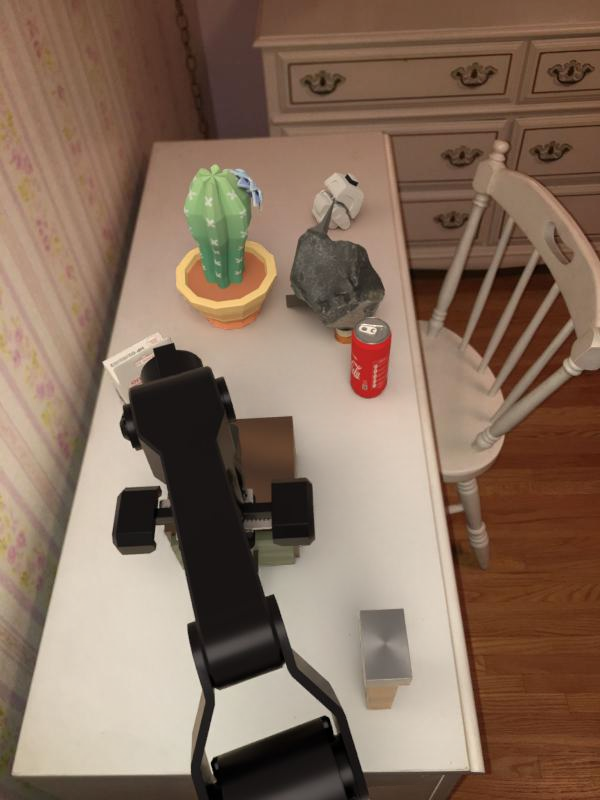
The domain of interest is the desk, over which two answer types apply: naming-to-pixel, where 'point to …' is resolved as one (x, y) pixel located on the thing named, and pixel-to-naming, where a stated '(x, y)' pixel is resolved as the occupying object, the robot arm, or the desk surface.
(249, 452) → the cabinet
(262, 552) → the drawer
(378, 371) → the beverage can
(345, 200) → the white faceted figurine
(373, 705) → the stand
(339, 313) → the narwhal figurine
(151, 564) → the desk surface
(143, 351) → the ink box
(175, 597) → the desk surface
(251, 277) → the potted cactus
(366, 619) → the brushed metal block
